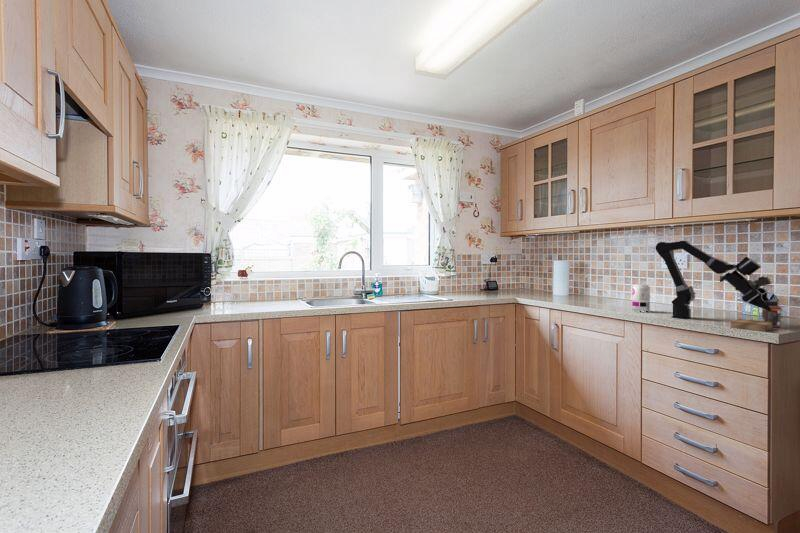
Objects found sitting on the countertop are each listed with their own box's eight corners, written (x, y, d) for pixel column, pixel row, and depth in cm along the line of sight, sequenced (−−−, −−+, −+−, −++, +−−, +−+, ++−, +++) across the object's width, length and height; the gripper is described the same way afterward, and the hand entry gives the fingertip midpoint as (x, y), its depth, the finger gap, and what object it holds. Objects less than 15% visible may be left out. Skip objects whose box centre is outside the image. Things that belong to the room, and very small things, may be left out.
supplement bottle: (784, 328, 169) (784, 301, 168) (767, 327, 170) (768, 301, 170) (774, 326, 174) (774, 300, 174) (758, 325, 176) (758, 300, 175)
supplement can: (630, 311, 220) (631, 284, 219) (634, 310, 226) (634, 283, 226) (647, 312, 214) (648, 285, 214) (650, 311, 221) (651, 284, 220)
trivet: (730, 327, 170) (731, 321, 170) (739, 325, 177) (739, 319, 177) (765, 331, 161) (765, 324, 161) (772, 328, 168) (772, 322, 168)
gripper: (752, 270, 170) (787, 298, 161) (760, 270, 181) (794, 295, 173) (728, 288, 176) (761, 315, 167) (738, 286, 188) (769, 312, 179)
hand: (772, 309), depth 172 cm, fingers open, 9 cm apart
